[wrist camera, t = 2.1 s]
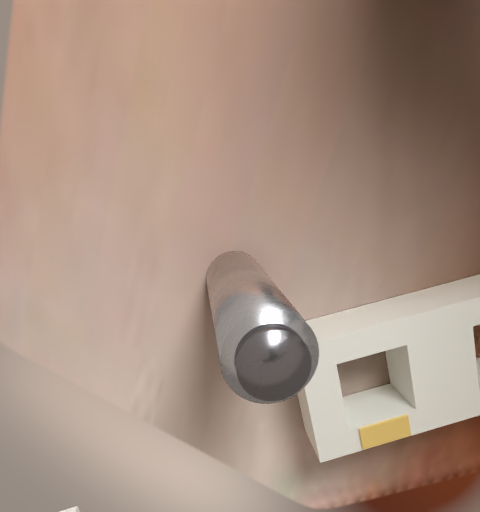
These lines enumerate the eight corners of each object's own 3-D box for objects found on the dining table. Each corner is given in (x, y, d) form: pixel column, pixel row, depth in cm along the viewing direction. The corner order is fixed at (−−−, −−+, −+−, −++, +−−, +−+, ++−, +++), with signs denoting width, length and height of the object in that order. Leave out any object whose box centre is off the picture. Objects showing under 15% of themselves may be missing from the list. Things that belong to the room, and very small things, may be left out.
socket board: (282, 326, 32) (296, 348, 28) (525, 262, 34) (571, 273, 30) (305, 433, 34) (321, 468, 30) (532, 367, 36) (576, 391, 32)
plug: (200, 258, 30) (210, 331, 15) (255, 245, 30) (315, 304, 16) (213, 311, 31) (235, 426, 16) (266, 297, 31) (333, 398, 17)
